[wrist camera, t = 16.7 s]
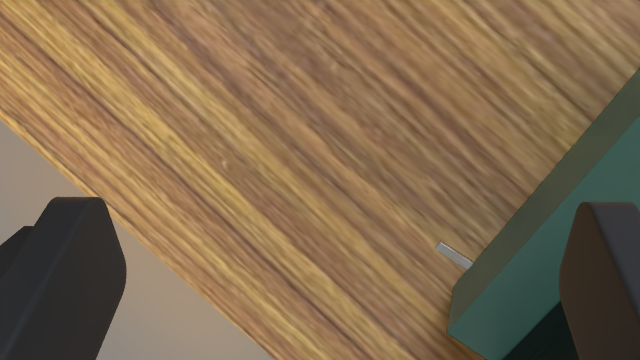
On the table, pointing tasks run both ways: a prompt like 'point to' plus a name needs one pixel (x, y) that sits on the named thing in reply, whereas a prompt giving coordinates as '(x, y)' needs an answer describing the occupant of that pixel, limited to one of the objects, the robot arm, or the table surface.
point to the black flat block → (547, 340)
